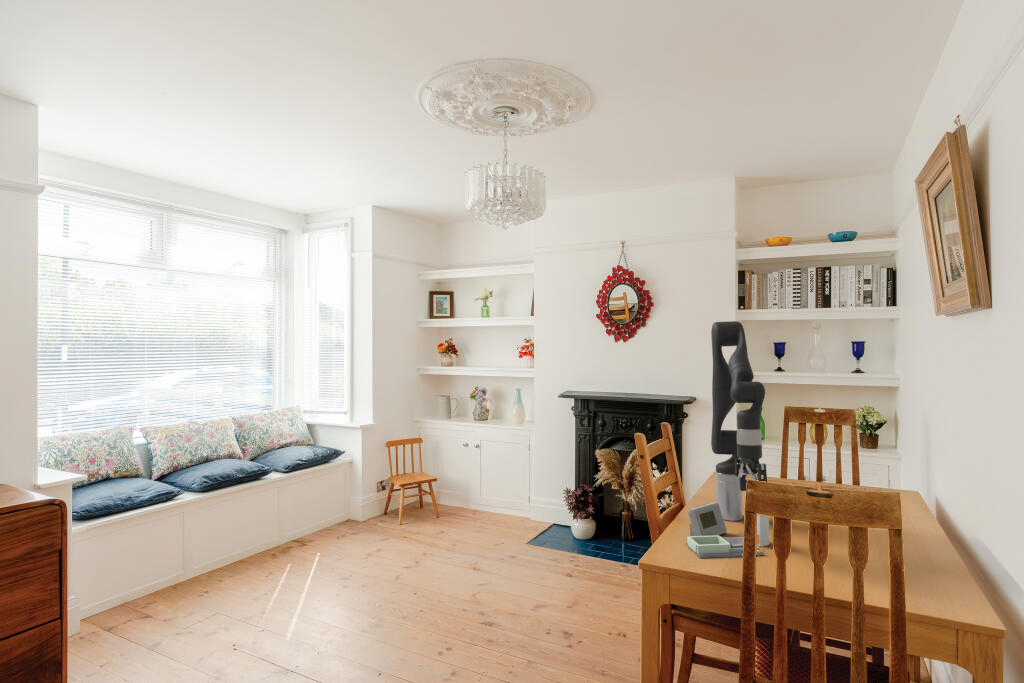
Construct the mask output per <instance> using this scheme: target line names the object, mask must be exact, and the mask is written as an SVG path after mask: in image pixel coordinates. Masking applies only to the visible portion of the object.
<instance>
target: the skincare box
mask: <svg viewBox="0 0 1024 683" xmlns="http://www.w3.org/2000/svg"><path fill="white" fill-rule="evenodd" d="M769 545H770V515H769V516H764V515H757V545H756V546H758V547H760V546H761V547H766V546H769ZM761 547H760V548H761Z"/></svg>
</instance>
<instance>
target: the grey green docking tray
mask: <svg viewBox="0 0 1024 683" xmlns="http://www.w3.org/2000/svg"><path fill="white" fill-rule="evenodd" d="M686 540H687V542H685V546H686V545H687V546H688V547H689V548H690V549H691V550H690V549H689V548H688V547H687V546H686V547H687V548H688V549H689V550H690V551H691V552H692V553H694V554H695V556H697V557H698V558H699V559H706V558H707V559H710V558H709V557H713V559H714V557H716V558H734V557H735V558H737V557H736V556H739V557H740V556H741V557H743V556H742V554H743V546H736V547H732V546H731V544H730V543H729V542H727V541H726V540H725V539H723V537H722V536H719V535H714V536H690V535H689V536H687V537H686ZM756 546H757V556H756V557H761V556H760V555H764V552H763V551H762V549H761V547H760V546H758V545H756ZM764 556H765V555H764Z"/></svg>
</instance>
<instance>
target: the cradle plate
mask: <svg viewBox="0 0 1024 683" xmlns="http://www.w3.org/2000/svg"><path fill="white" fill-rule="evenodd" d="M722 538H723V539H725V540H726V541H727V542H729V543H730V544H731V546H732V547H736V546H743V539H744V538H745V536H723V537H722Z"/></svg>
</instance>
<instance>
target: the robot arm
mask: <svg viewBox="0 0 1024 683" xmlns="http://www.w3.org/2000/svg"><path fill="white" fill-rule="evenodd" d="M710 333H711V334H710V335H711V350H712V381H711V385H712V386H711V388H712V389H711V390H712V392H711V395H712V397H711V398H712V422H711V435H710V436H711V440H710V443H711V445H710V446H711V450H712V452H713V454H715V455H730V456H731V457H729V458H728V459H726V460H724V461H720V462H717V464H715V485H716V487H715V488H716V491H715V493H716V494H715V495H716V501H715V502H717V503H718V504H719V507H720V510H721V513H722V516H723V519H724V521H732V522H733V521H736V522H737V521H740V520H743V492H747V491H746V483H747V484H748V479H747V477H748V476H750V478H751V479H752V480H753V481H754V480H759V481H766V482H768V475H767V464H766V463H761V462H760V459H762V458H763V440H762V439H763V438H762V432H761V412H762V406H763V403H764V401H765V396H766V388H765V386H764V384H763V382H760V381H753V380H754V372H753V368H752V366H751V363H750V361H749V355H748V347H747V340H746V339H747V338H746V334H745V328H744V326H743V324H742V323H741V322H740V321H737V320H734V321H733V320H732V321H729V320H728V321H715V322H713V324H712V325H711V332H710ZM722 347H736V349H735V350H734V352H733V353H732V354H731V356H730V357H729V360H728V362H727V360H726V358H725V356H724V355H723V354H724V353H723V348H722ZM736 404H751V406H750V407H749V408H747V409H742V410H740V411H738V412H737V414H736V427H737V429H736V430H733V429H722V427H723V424H724V421H725V419H726V417H727V415H728V414H729V413H730V412H731V411H732V409H733V407H734V406H735V405H736Z"/></svg>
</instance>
